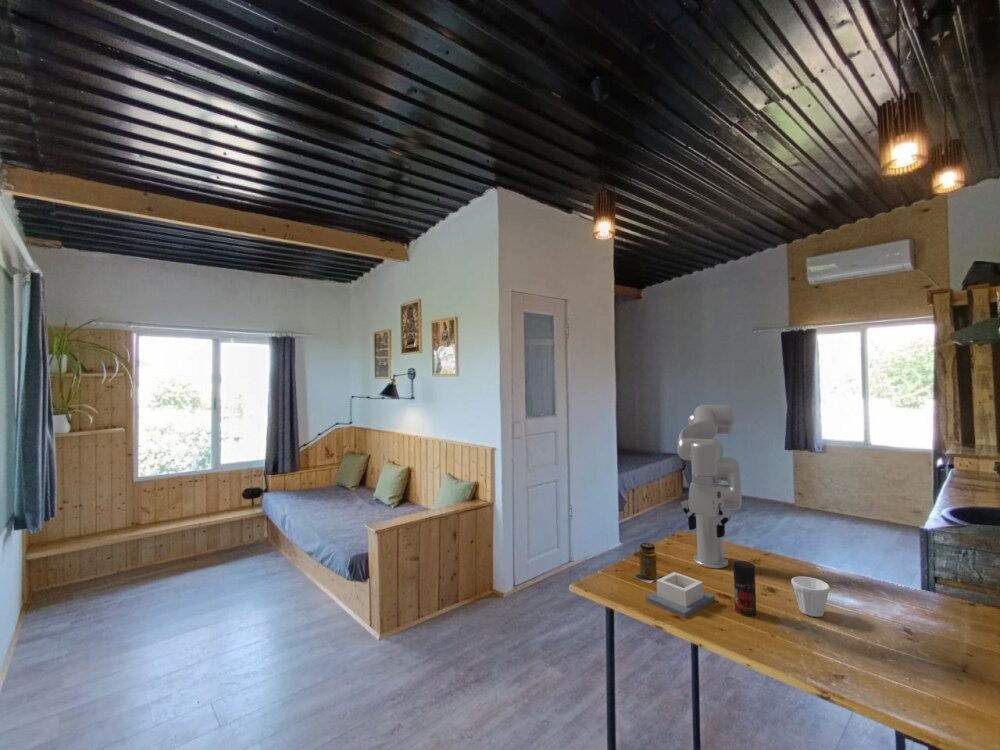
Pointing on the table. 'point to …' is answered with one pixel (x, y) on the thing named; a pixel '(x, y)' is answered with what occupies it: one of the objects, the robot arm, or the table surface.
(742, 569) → the deodorant
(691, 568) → the table surface
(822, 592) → the cup
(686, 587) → the socket
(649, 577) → the condiment
